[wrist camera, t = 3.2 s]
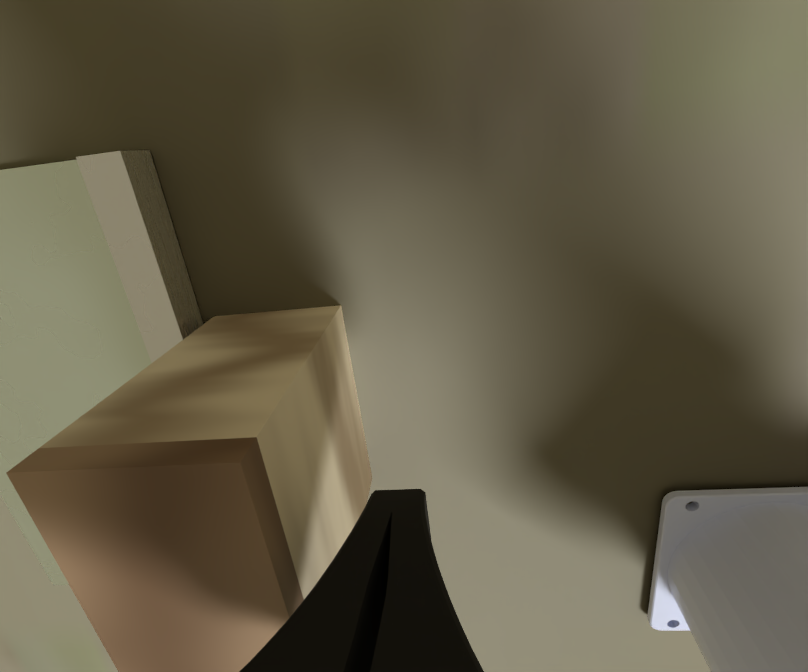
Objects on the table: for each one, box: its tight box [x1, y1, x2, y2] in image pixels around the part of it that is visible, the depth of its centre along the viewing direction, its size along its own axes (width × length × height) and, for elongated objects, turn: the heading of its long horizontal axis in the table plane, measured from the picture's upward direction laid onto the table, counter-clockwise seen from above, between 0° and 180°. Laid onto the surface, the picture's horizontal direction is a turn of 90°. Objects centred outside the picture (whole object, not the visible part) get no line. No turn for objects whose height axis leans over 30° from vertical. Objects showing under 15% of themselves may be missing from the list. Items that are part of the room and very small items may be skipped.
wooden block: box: [6, 305, 372, 672], centre depth 14 cm, size 5×8×9 cm, turn 7°
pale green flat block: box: [0, 150, 203, 585], centre depth 19 cm, size 13×20×2 cm, turn 7°
